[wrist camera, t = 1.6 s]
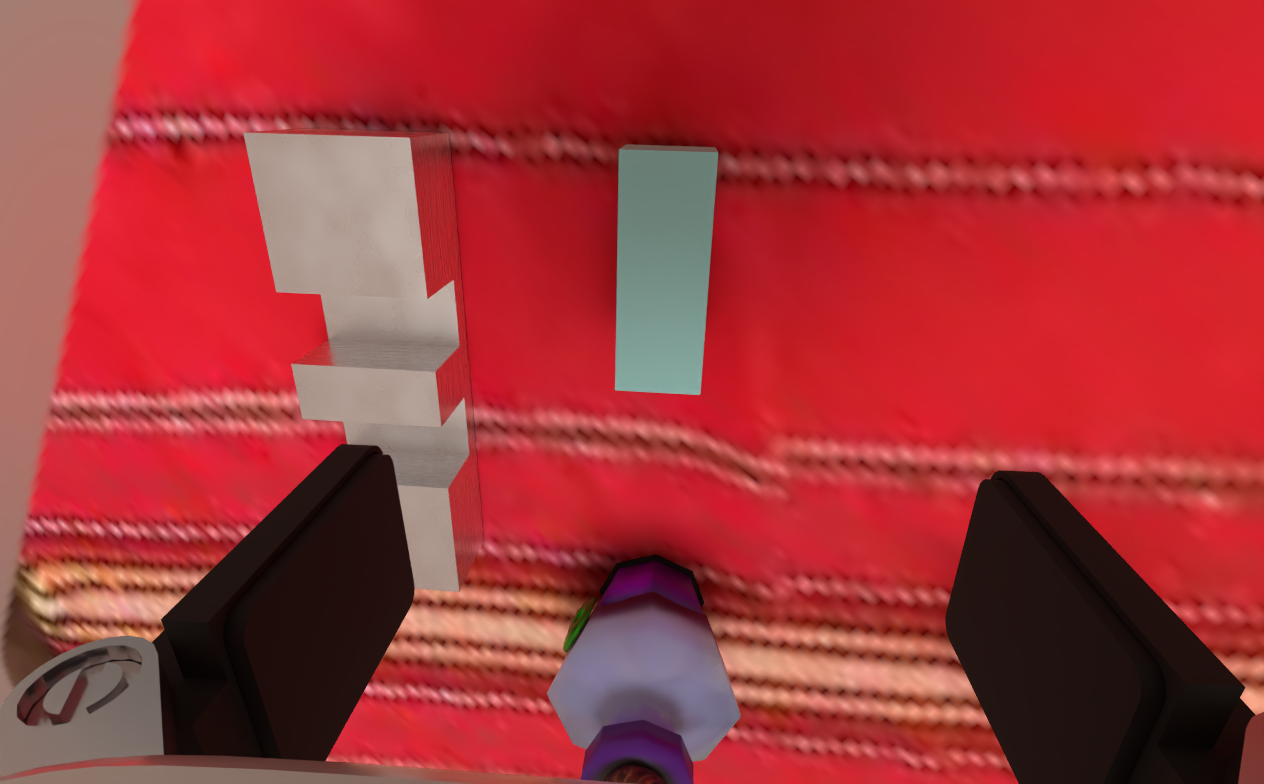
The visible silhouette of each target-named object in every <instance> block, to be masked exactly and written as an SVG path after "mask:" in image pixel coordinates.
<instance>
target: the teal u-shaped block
mask: <svg viewBox="0 0 1264 784" xmlns="http://www.w3.org/2000/svg"><path fill="white" fill-rule="evenodd" d="M717 164H718V151H717V149H716V147H693V146H661V145H629V144H626V145H625V146H623V147H622V148H620V149H619V173H618V239H617V305H616V372H615V390H619V391H637V392H655V393H673V394H691V395H700V392H701V379H702V365H703V352H704V338H705V325H706V312H707V298H708V285H709V271H710V258H711V245H712V231H713V218H714V204H715V191H716V177H717Z"/></svg>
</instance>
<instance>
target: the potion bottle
mask: <svg viewBox="0 0 1264 784" xmlns="http://www.w3.org/2000/svg"><path fill="white" fill-rule="evenodd" d="M600 593H601V595H602V597H601V599H600V601H599V603H598V605H597V606H596V607H595V609H594V611H593V612H592V614H591V615H590V613H591V611H592V609H593V607H594V605H595V603H596V601H597V598H591V599H590V600H589V601H587V602H585V603H584V604H583V606H582V607H581V608H580V609H579V610H578V611H577V613H576V616H575V617H574V619H573V620H572V622H571V625H570V627H569V630H568V633H567V636H566V638H565V641H564V646H563V649H564V651H565V652H566V653H567V652H568V651H569V652H568V654H567V656H566V658H565V660H564V662H563V663H562V665H561V667H560V669H559V671H558V673H557V675H556V677H555V679H554V681H553V683H552V685H551V687H550V689H549V691H548V693H547V695H548V697H549V699H550V701H551V703H552V704H553V706H554V708H555V710H556V712H557V714H558V716H559V718H560V720H561V722H562V724H563V726H564V727H565V729H566V731H567V733H568V735H569V737H570V739H571V741H572V743H573V744H575V745H577V746H579V747H582V748H584V749H586V751H585V758H584V764H583V770H582V776H581V780H592V781H605V782H618V783H631V784H693V761H700V760H705V759H706V757H707V756H708V755H709V754H710V753H711V752H712V750H713V749H714V748H715V747H716V746H717V744H718V743H719V742H720V741H721V740H722V738H723V737H724V736H725V735H726V734H727V733H728V731H729V730H730V729H731V728H732V727H733V725H734V724H735V723H736V722H737V721H738V720H739V718H740V717H741V715H740V712H739V709H738V705H737V702H736V699H735V696H734V693H733V690H732V687H731V684H730V681H729V678H728V675H727V672H726V668H725V665H724V662H723V659H722V657H721V654H720V651H719V649H718V646H717V643H716V641H715V638H714V635H713V632H712V630H711V627H710V624H709V621H708V619H707V616H706V615H705V614H703V612H702V608H701V606H702V605H703V603H704V601H703V598H702V595H701V593H700V590H699V587H698V585H697V582H696V579H695V577H694V574H693V571H691V570H688V569H686V568H684V567H682V566H680V565H677V564H675V563H673V562H671V561H669V560H666V559H664V558H662V557H660V556H658V555H652V556H648V557H643V558H639V559H634V560H630V561H625V562H621V563H617V564H616V566H615V567H614V569H613V571H612V572H611V574H610V575H609V577H608V579H607V580H606V582H605V584H604V585H603V587H602V588H601V590H600ZM589 615H590V617H589ZM588 617H589V619H588ZM587 619H588V620H587ZM586 620H587V622H586ZM585 622H586V623H585ZM584 624H585V625H584ZM583 625H584V626H583ZM582 627H583V628H582ZM579 632H580V633H579ZM570 647H571V648H570ZM569 649H570V650H569Z"/></svg>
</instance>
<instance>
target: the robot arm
mask: <svg viewBox="0 0 1264 784" xmlns="http://www.w3.org/2000/svg"><path fill="white" fill-rule="evenodd" d="M414 589H415V586H414V578H413V573H412V567H411V561H410V555H409V550H408V544H407V538H406V532H405V527H404V521H403V515H402V509H401V504H400V498H399V492H398V486H397V481H396V475H395V469H394V464H393V460H392V458H391V456H389V455H386V454H383V452H382V450H381V448H380V447H378V446H377V445H354V444H341V445H340V446H338V447H337V448H336V449H335V450H334V451H333V452H332V453H331V454H330V455H329V456H328V457H327V458H326V459H325V460H324V461H323V462H322V463H321V464H319V465H318V466H317V467H316V468H315V469H314V470H313V471H312V472H311V473H310V474H309V475H308V476H307V477H306V478H305V479H304V480H303V481H302V482H301V483H300V484H299V485H298V486H297V487H296V488H295V489H294V490H293V491H292V492H291V493H290V494H289V495H288V496H287V497H286V498H285V499H284V500H283V501H282V502H281V503H280V504H279V505H278V506H277V507H276V508H274V509H273V510H272V511H271V512H270V513H269V514H268V515H267V516H266V517H265V518H264V519H263V520H262V521H261V522H260V523H259V524H258V525H257V526H256V527H255V528H254V529H253V530H252V531H251V532H250V533H249V534H248V535H247V536H246V537H245V538H244V539H243V540H242V541H241V542H240V543H239V544H238V545H237V546H236V547H235V548H234V549H233V550H232V551H231V552H230V553H228V554H227V555H226V556H225V557H224V558H223V559H222V560H221V561H220V562H219V563H218V564H217V565H216V566H215V567H214V568H213V569H212V570H211V571H210V572H209V573H208V574H207V575H206V576H205V577H204V578H203V579H202V580H201V581H200V582H199V583H198V584H197V585H196V586H195V587H194V588H193V589H192V590H191V591H190V592H189V593H188V594H187V595H186V596H185V597H184V598H182V599H181V600H180V601H179V602H178V603H177V604H176V605H175V606H174V607H173V608H172V609H171V610H170V611H169V612H168V613H167V614H166V615H165V616H164V617H163V618H162V619H161V621H162V623H163V626H164V629H165V630H164V631H163V632H162V633H161V634H160V635H159V636H158V637H157V638H156V639H155V640H154V641H153V642H152V643H151V642H149V641H147V640H146V639H144V638H140V637H133V636H120V637H110V638H105V639H101V640H98V641H94V642H90V643H87V644H84V645H81V646H79V647H77V648H74V649H72V650H70V651H67V652H65V653H63V654H61V655H59V656H57V657H56V658H54V659H52V660H50V661H49V662H47V663H45V664H44V665H42V666H40V667H39V668H37V669H36V670H35V671H34V672H32V673H31V674H30V675H29V676H27V677H26V678H25V679H24V680H22V681H21V682H20V683H19V684H18V685H17V686H16V687H15V688H14V689H13V691H12V692H11V693H10V694H9V695H8V696H7V698H6V699H5V700H4V702H3V705H2V707H1V709H0V784H631V783H618V782H605V781H592V780H579V779H566V778H553V777H540V776H526V775H512V774H498V773H484V772H471V771H457V770H443V769H429V768H415V767H401V766H387V765H374V764H360V763H346V762H328V761H325V760H326V759H327V757H328V755H329V753H330V751H331V750H332V748H333V746H334V744H335V742H336V741H337V739H338V737H339V735H340V733H341V731H342V730H343V728H344V726H345V724H346V722H347V721H348V719H349V717H350V715H351V713H352V712H353V710H354V708H355V706H356V704H357V703H358V701H359V699H360V697H361V695H362V694H363V692H364V690H365V688H366V686H367V684H368V683H369V681H370V679H371V677H372V675H373V674H374V672H375V670H376V668H377V666H378V665H379V663H380V661H381V659H382V657H383V656H384V654H385V652H386V650H387V648H388V647H389V645H390V643H391V641H392V639H393V638H394V636H395V634H396V632H397V630H398V628H399V627H400V625H401V623H402V621H403V619H404V618H405V616H406V614H407V612H408V610H409V609H410V607H411V604H412V601H413V597H414ZM946 630H947V634H948V637H949V640H950V642H951V644H952V646H953V648H954V650H955V652H956V654H957V656H958V659H959V661H960V663H961V665H962V667H963V669H964V671H965V673H966V675H967V677H968V679H969V681H970V683H971V685H972V688H973V690H974V692H975V694H976V696H977V698H978V700H979V702H980V704H981V706H982V708H983V710H984V712H985V714H986V717H987V719H988V721H989V723H990V725H991V727H992V729H993V731H994V733H995V735H996V737H997V739H998V741H999V743H1000V746H1001V748H1002V750H1003V752H1004V754H1005V756H1006V758H1007V760H1008V762H1009V764H1010V766H1011V768H1012V770H1013V772H1014V774H1015V777H1016V779H1017V781H1018V783H1019V784H1264V712H1263V713H1260V714H1258V715H1255V714H1254V713H1253V712H1252V711H1251V710H1250V708H1249V707H1248V706H1247V705H1246V704H1245V703H1244V702H1243V701H1242V700H1241V699H1240V697H1241V695H1242V693H1243V691H1244V689H1245V687H1244V686H1243V684H1242V683H1241V682H1240V681H1239V680H1238V679H1237V678H1236V677H1235V676H1234V675H1233V674H1232V673H1231V672H1230V671H1229V670H1228V669H1227V668H1226V667H1225V666H1224V664H1223V663H1222V662H1221V661H1220V660H1219V659H1218V658H1217V657H1216V656H1215V655H1214V654H1213V653H1212V652H1211V651H1210V650H1209V649H1208V648H1207V647H1206V646H1205V644H1204V643H1203V642H1202V641H1201V640H1200V639H1199V638H1198V637H1197V636H1196V635H1195V634H1194V633H1193V632H1192V631H1191V630H1190V629H1189V628H1188V627H1187V626H1186V624H1185V623H1184V622H1183V621H1182V620H1181V619H1180V618H1179V617H1178V616H1177V615H1176V614H1175V613H1174V612H1173V611H1172V610H1171V609H1170V608H1169V607H1168V605H1167V604H1166V603H1165V602H1164V601H1163V600H1162V599H1161V598H1160V597H1159V596H1158V595H1157V594H1156V593H1155V592H1154V591H1153V590H1152V589H1151V588H1150V587H1149V585H1148V584H1147V583H1146V582H1145V581H1144V580H1143V579H1142V578H1141V577H1140V576H1139V575H1138V574H1137V573H1136V572H1135V571H1134V570H1133V569H1132V568H1131V567H1130V565H1129V564H1128V563H1127V562H1126V561H1125V560H1124V559H1123V558H1122V557H1121V556H1120V555H1119V554H1118V553H1117V552H1116V551H1115V550H1114V549H1113V548H1112V546H1111V545H1110V544H1109V543H1108V542H1107V541H1106V540H1105V539H1104V538H1103V537H1102V536H1101V535H1100V534H1099V533H1098V532H1097V531H1096V530H1095V529H1094V528H1093V526H1092V525H1091V524H1090V523H1089V522H1088V521H1087V520H1086V519H1085V518H1084V517H1083V516H1082V515H1081V514H1080V513H1079V512H1078V511H1077V510H1076V509H1075V508H1074V506H1073V505H1072V504H1071V503H1070V502H1069V501H1068V500H1067V499H1066V498H1065V497H1064V496H1063V495H1062V494H1061V493H1060V492H1059V491H1058V490H1057V489H1056V488H1055V486H1054V485H1053V484H1052V483H1051V482H1050V481H1049V480H1048V479H1047V478H1046V477H1045V476H1044V475H1042V474H1041V473H1039V472H1023V471H997V472H995V473H994V475H993V476H992V477H991V480H990V479H985V480H983V481H982V482H981V483H980V486H979V488H978V492H977V496H976V500H975V503H974V507H973V511H972V515H971V519H970V523H969V527H968V531H967V535H966V539H965V542H964V546H963V550H962V554H961V558H960V562H959V566H958V570H957V574H956V578H955V581H954V585H953V589H952V593H951V597H950V601H949V605H948V609H947V613H946Z"/></svg>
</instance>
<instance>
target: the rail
mask: <svg viewBox="0 0 1264 784" xmlns="http://www.w3.org/2000/svg"><path fill="white" fill-rule="evenodd" d="M244 137H245V142H246V147H247V152H248V157H249V162H250V166H251V171H252V176H253V181H254V186H255V191H256V195H257V200H258V205H259V210H260V215H261V220H262V224H263V229H264V234H265V239H266V244H267V249H268V254H269V258H270V263H271V268H272V273H273V278H274V283H275V287H276V292H286V293H307V294H321V299H322V304H323V310H324V315H325V321H326V327H327V332H328V338H329V339H328V340H327V341H325V342H324V343H322V344H321V345H319V346H318V347H316V348H315V349H313V350H312V351H310V352H309V353H307V354H306V355H304V356H303V357H301V358H300V359H298V360H297V361H295V362H293V363H292V364H291V365H292V370H293V375H294V379H295V384H296V389H297V394H298V399H299V404H300V408H301V413H302V418H303V419H313V420H329V421H343V422H344V428H345V433H346V439H347V444H354V445H377V446H378V447H380V448H381V450H382V452H383V454H386V455H389V456H391V458H392V460H393V464H394V469H395V475H396V481H397V486H398V492H399V498H400V504H401V509H402V515H403V521H404V527H405V532H406V538H407V544H408V550H409V555H410V561H411V567H412V573H413V578H414V586H415V589H427V590H440V591H453V592H459V591H460V589H461V587H462V585H463V583H464V581H465V579H466V577H467V574H468V572H469V570H470V568H471V566H472V564H473V562H474V560H475V558H476V555H477V553H478V551H479V549H480V547H481V545H482V543H483V541H484V536H483V524H482V513H481V501H480V489H479V478H478V466H477V454H476V442H475V431H474V419H473V407H472V395H471V384H470V372H469V360H468V348H467V337H466V325H465V313H464V302H463V290H462V278H461V266H460V255H459V243H458V231H457V219H456V208H455V196H454V184H453V172H452V161H451V149H450V137H449V133H442V132H410V131H377V130H344V129H312V128H302V129H288V130H273V131H258V132H244Z"/></svg>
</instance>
